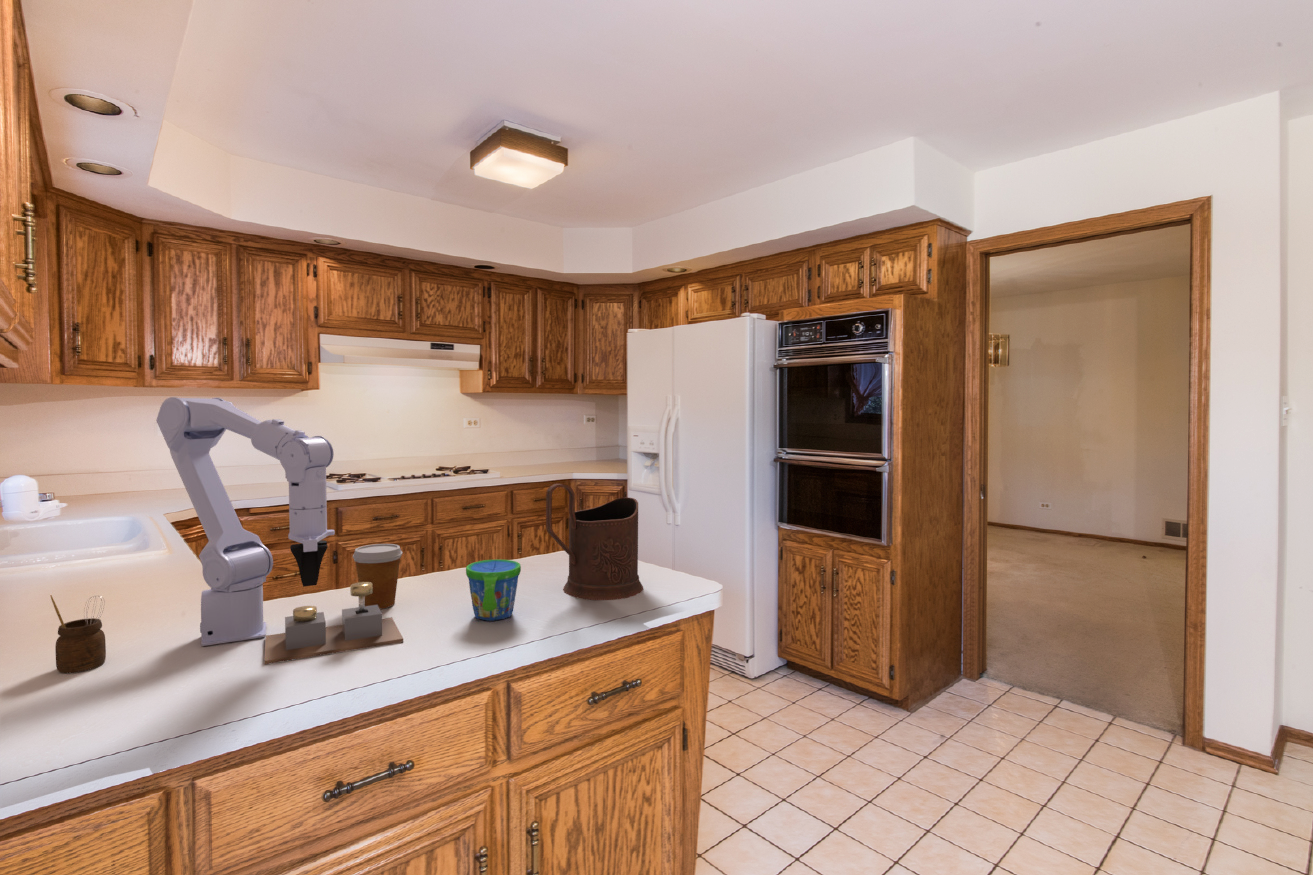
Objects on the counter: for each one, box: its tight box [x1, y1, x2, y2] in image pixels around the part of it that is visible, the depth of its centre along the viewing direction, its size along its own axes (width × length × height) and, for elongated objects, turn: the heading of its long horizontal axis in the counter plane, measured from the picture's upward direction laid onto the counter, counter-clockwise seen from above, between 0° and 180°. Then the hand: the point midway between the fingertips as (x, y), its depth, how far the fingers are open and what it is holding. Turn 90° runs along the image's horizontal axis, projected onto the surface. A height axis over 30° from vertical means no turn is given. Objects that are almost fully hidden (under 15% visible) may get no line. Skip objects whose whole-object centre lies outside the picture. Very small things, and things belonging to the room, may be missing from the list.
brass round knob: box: [349, 582, 372, 614], centre depth 118 cm, size 4×4×6 cm
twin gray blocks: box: [284, 605, 383, 650], centre depth 115 cm, size 15×6×4 cm, turn 120°
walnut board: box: [264, 617, 404, 665], centre depth 116 cm, size 21×13×1 cm, turn 120°
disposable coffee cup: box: [352, 543, 403, 610], centre depth 136 cm, size 10×10×12 cm
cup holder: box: [545, 483, 644, 601], centre depth 148 cm, size 18×24×25 cm
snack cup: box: [465, 559, 522, 622], centre depth 130 cm, size 16×10×10 cm
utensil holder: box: [50, 595, 107, 674], centre depth 103 cm, size 6×6×12 cm
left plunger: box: [292, 605, 318, 621], centre depth 113 cm, size 4×4×6 cm
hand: (309, 584), depth 113 cm, fingers closed
